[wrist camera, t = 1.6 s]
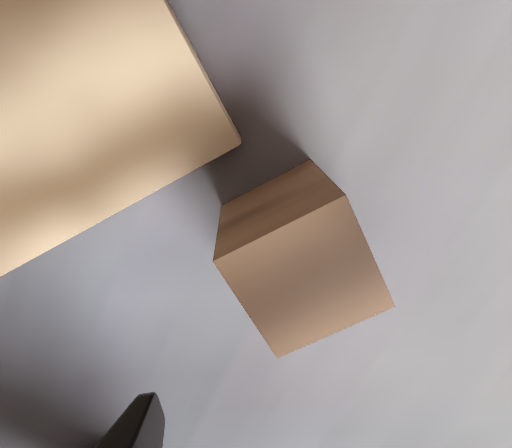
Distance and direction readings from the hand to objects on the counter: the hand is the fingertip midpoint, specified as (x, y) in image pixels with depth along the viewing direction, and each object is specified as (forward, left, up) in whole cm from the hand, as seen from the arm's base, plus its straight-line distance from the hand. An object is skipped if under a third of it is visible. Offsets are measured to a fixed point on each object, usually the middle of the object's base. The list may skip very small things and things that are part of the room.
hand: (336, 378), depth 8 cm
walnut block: (0, 0, -10) cm, 10 cm away
